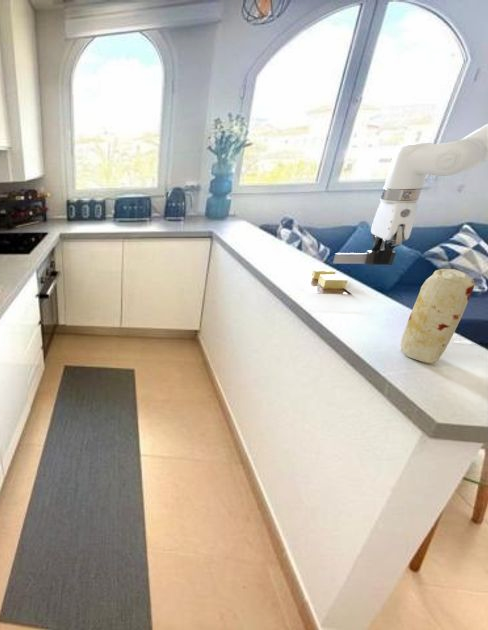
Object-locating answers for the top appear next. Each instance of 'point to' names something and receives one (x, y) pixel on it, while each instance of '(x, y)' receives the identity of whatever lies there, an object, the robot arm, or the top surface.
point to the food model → (436, 314)
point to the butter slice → (322, 272)
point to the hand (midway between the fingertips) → (378, 261)
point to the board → (316, 286)
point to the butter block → (332, 281)
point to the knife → (360, 258)
